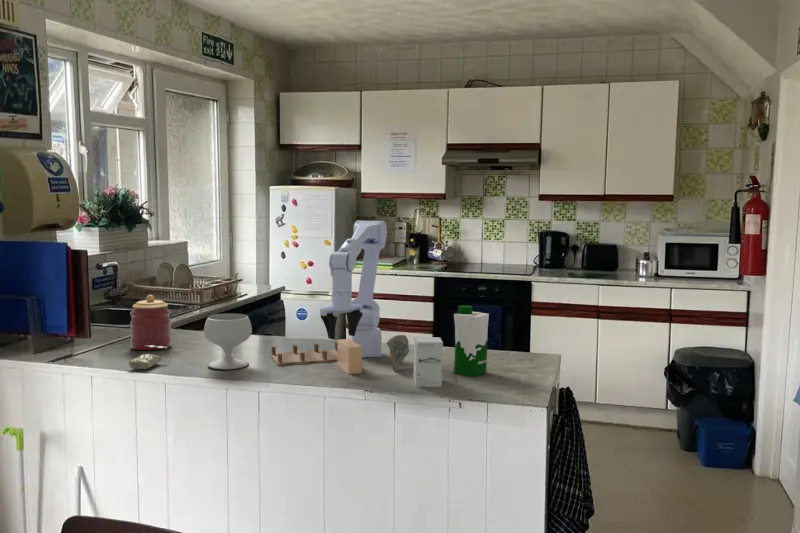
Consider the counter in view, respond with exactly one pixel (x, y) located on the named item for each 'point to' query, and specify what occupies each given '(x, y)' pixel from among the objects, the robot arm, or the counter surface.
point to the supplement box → (428, 361)
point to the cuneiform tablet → (145, 360)
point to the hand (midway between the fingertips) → (341, 337)
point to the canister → (150, 324)
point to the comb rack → (304, 356)
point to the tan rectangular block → (349, 356)
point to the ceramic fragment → (398, 350)
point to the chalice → (227, 337)
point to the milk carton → (470, 342)
